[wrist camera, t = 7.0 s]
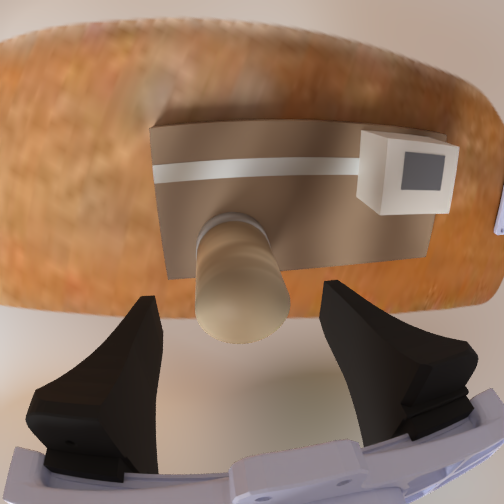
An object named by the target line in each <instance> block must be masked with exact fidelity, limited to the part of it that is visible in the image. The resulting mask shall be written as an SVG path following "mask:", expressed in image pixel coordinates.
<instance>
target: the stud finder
mask: <svg viewBox="0 0 504 504" xmlns="http://www.w3.org/2000/svg"><path fill="white" fill-rule="evenodd" d="M458 154H459V147H458V146H455V145H452V144H449V143H446V142H443V141H440V140H437V139H433V138H430V137H425V136H417V135H409V134H400V133H390V132H379V131H367V130H361V141H360V157H359V170H358V182H357V193H356V197H357V198H358V199H360V200H361V201H362V202H364V203H365V204H366V205H367V206H369V207H370V208H371V209H373V210H374V211H375V212H376V213H378V214H379V215H405V214H445V213H449V210H450V205H451V200H452V194H453V188H454V182H455V176H456V169H457V162H458Z"/></svg>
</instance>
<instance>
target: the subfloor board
mask: <svg viewBox="0 0 504 504" xmlns="http://www.w3.org/2000/svg"><path fill="white" fill-rule="evenodd" d="M361 130H367V131H379V132H390V133H400V134H409V135H417V136H425V137H430V138H433V139H437V140H440V141H443V142H446V139H447V135H446V134H442V133H439V132H434V131H428V130H421V129H414V128H407V127H399V126H390V125H381V124H371V123H359V122H346V121H329V120H302V119H249V120H222V121H205V122H191V123H180V124H169V125H160V126H153V127H151V128H149V131H150V144H151V155H152V165H153V176H154V184H155V193H156V201H157V209H158V217H159V224H160V231H161V238H162V245H163V251H164V258H165V264H166V270H167V276H168V280H170V279H185V278H196V262H197V260H196V243H197V237H198V234H199V232H200V230H201V228H202V227H203V226H204V224H205V223H206V222H208V221H209V220H210V219H211V218H213V217H215V216H217V215H219V214H222V213H227V212H240V213H244V214H247V215H249V216H251V217H253V218H254V219H256V220H257V221H258V222H259V223H260V224H261V226H262V227H263V229H264V231H265V233H266V235H267V238H268V240H269V243H270V247H271V250H272V253H273V255H274V258H275V260H276V263H277V265H278V268H279V270H280V271H287V270H298V269H309V268H320V267H331V266H342V265H352V264H362V263H372V262H382V261H392V260H401V259H411V258H420V257H426V254H427V250H428V246H429V241H430V237H431V233H432V228H433V223H434V218H435V214H405V215H379V214H378V213H376V212H375V211H374V210H373V209H371V208H370V207H369V206H367V205H366V204H365V203H364V202H362V201H361V200H360V199H358V198H357V197H356V193H357V182H358V170H359V157H360V141H361Z"/></svg>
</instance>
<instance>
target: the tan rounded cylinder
mask: <svg viewBox="0 0 504 504" xmlns="http://www.w3.org/2000/svg"><path fill="white" fill-rule="evenodd" d="M196 260H197V262H196V291H195V314H196V318H197V320H198V323H199V324H200V326H201V327H202V328H203V330H204V331H205V332H206V333H207V334H209V335H210V336H212V337H213V338H215V339H217V340H220V341H223V342H226V343H232V344H246V343H252V342H256V341H259V340H262V339H264V338H266V337H268V336H269V335H271V334H272V333H274V332H275V331H276V330H277V329H279V328H280V326H281V325H282V324H283V323H284V321H285V320H286V318H287V316H288V313H289V310H290V296H289V293H288V290H287V288H286V285H285V283H284V280H283V278H282V275H281V273H280V270H279V268H278V265H277V263H276V260H275V258H274V255H273V253H272V250H271V247H270V243H269V240H268V238H267V235H266V233H265V231H264V229H263V227H262V226H261V224H260V223H259V222H258V221H257V220H256V219H254V218H253V217H251V216H249V215H247V214H244V213H240V212H227V213H222V214H219V215H217V216H215V217H213V218H211V219H210V220H209V221H208V222H206V223H205V224H204V226H203V227H202V228H201V230H200V232H199V234H198V237H197V243H196Z"/></svg>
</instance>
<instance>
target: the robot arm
mask: <svg viewBox="0 0 504 504" xmlns="http://www.w3.org/2000/svg"><path fill="white" fill-rule="evenodd" d="M494 233H495V234H496V235H504V187H503V192H502V197H501V202H500V206H499V210H498V215H497V219H496V223H495V227H494ZM319 319H320V322H321V326H322V329H323V332H324V334H325V338H326V340H327V342H328V344H329V346H330V348H331V350H332V352H333V354H334V356H335V358H336V361H337V362H338V365H339V367H340V369H341V371H342V373H343V375H344V378H345V380H346V382H347V385H348V389H349V391H350V395H351V398H352V401H353V404H354V407H355V411H356V414H357V419H358V422H359V426H360V431H361V435H362V439H363V445H364V448H360V446H359V443H358V442H355V441H352V440H349V439H343V440H335V441H330V442H326V443H321V444H316V445H311V446H306V447H301V448H295V449H289V450H283V451H277V452H270V453H263V454H258V455H253V456H249V457H245V458H243V459H241V460H238V461H236V462H234V463H233V464H232V465H231V467H230V469H229V471H228V472H227V473H212V474H185V475H183V474H182V475H181V474H177V475H171V474H165V475H163V474H159V473H158V463H157V449H156V394H157V387H158V380H159V374H160V367H161V360H162V353H163V330H162V325H161V321H160V317H159V313H158V308H157V304H156V299H155V296H141V297H140V298H139V299H138V301H137V302H136V303H135V304H134V306H133V307H132V308H131V310H130V311H129V312H128V314H127V315H126V316H125V318H124V319H123V320H122V321H121V323H120V324H119V325H118V326H117V328H116V329H115V330H114V331H113V332H112V333H111V335H110V336H109V337H108V338H107V339H106V340H105V341H104V342H103V343H102V344H101V345H100V346H99V347H98V348H97V349H96V350H95V351H94V352H93V353H92V354H91V355H90V356H88V357H87V358H86V359H85V360H83V361H82V362H81V363H79V364H78V365H77V366H76V367H74V368H73V369H72V370H70V371H69V372H67V373H66V374H64V375H63V376H61V377H59V378H58V379H56V380H54V381H53V382H50V383H48V384H47V385H45V386H43V387H41V388H39V389H37V390H35V393H34V395H33V398H32V401H31V403H30V406H29V409H28V412H27V415H26V423H27V425H28V427H29V428H30V430H31V431H32V432H33V433H34V435H36V437H37V438H38V439H39V440H40V441H41V442H42V443H43V444H44V445H45V446H46V447H47V451H46V455H44V454H42V453H40V452H38V451H34V450H30V449H25V448H21V447H15V450H14V454H13V457H12V461H11V464H10V468H9V473H8V476H7V481H6V485H5V489H4V494H3V499H4V500H5V501H6V502H8V503H9V504H409V503H411V502H413V501H415V500H417V499H419V498H421V497H423V496H425V495H427V494H429V493H431V492H432V491H435V490H437V489H438V488H440V487H442V486H444V485H445V484H447V483H449V482H451V481H452V480H454V479H456V478H457V477H459V476H461V475H462V474H464V473H466V472H467V471H469V470H471V469H472V468H474V467H476V466H477V465H479V464H480V463H482V462H483V461H485V460H487V459H488V458H489V457H490V456H492V455H493V454H494V453H495V452H496V451H497V450H498V449H499V448H500V447H501V446H502V445H503V444H504V404H503V402H502V401H501V400H500V398H499V397H498V395H497V394H496V393H495V391H494V390H493V388H490V389H488V390H486V391H484V392H482V393H480V394H478V395H476V396H475V397H473V398H472V399H471V400H470V401H469V399H468V398H467V396H466V395H467V394H468V393H469V391H468V389H467V388H466V387H465V385H466V384H467V382H468V380H469V379H470V377H471V375H472V374H473V372H474V370H475V368H476V366H477V363H478V355H477V354H476V352H475V351H474V350H473V349H472V347H471V346H470V345H469V344H468V342H466V341H461V340H456V339H451V338H447V337H443V336H439V335H436V334H433V333H430V332H426V331H424V330H421V329H419V328H416V327H414V326H411V325H409V324H407V323H405V322H403V321H401V320H399V319H397V318H395V317H393V316H391V315H389V314H388V313H386V312H384V311H383V310H381V309H379V308H378V307H376V306H375V305H373V304H372V303H370V302H369V301H367V300H366V299H364V298H363V297H361V296H360V295H358V294H357V293H356V292H354V291H353V290H351V289H350V288H349V287H347V286H346V285H344V284H343V283H341V282H340V281H338V280H331V281H324V286H323V294H322V301H321V309H320V316H319Z"/></svg>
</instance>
